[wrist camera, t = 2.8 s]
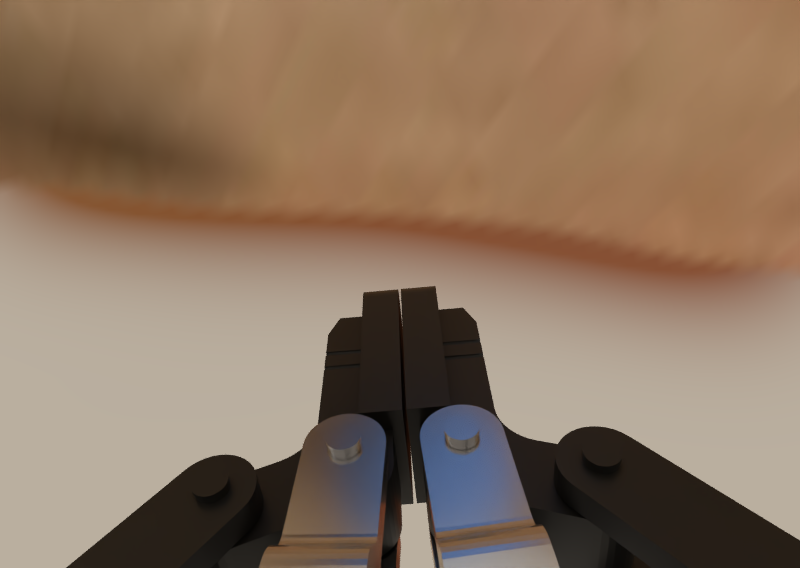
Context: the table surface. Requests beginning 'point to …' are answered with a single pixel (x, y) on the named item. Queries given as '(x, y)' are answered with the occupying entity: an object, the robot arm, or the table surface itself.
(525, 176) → the table surface
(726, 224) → the table surface
